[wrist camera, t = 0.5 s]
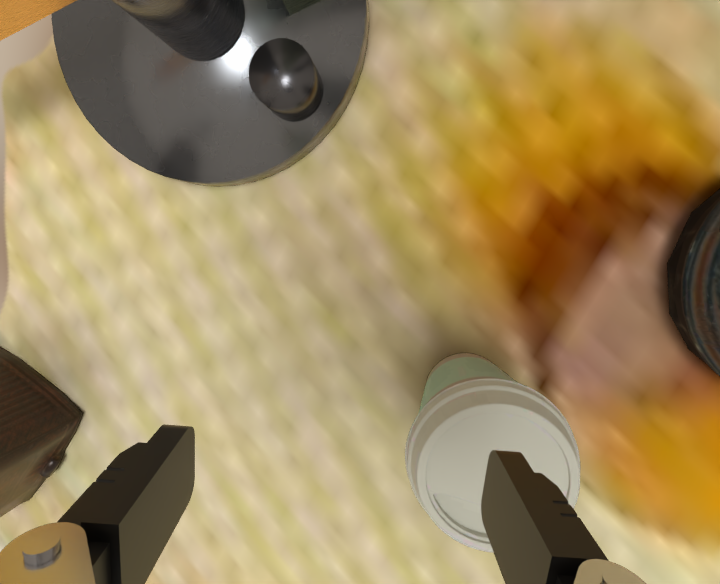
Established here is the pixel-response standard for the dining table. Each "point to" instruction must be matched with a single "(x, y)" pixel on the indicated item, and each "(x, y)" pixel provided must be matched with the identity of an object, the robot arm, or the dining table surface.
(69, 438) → the manual coffee grinder
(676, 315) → the beer stein
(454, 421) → the coffee cup
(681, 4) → the dining table surface
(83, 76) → the base
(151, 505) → the robot arm
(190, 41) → the wooden handled mallet
